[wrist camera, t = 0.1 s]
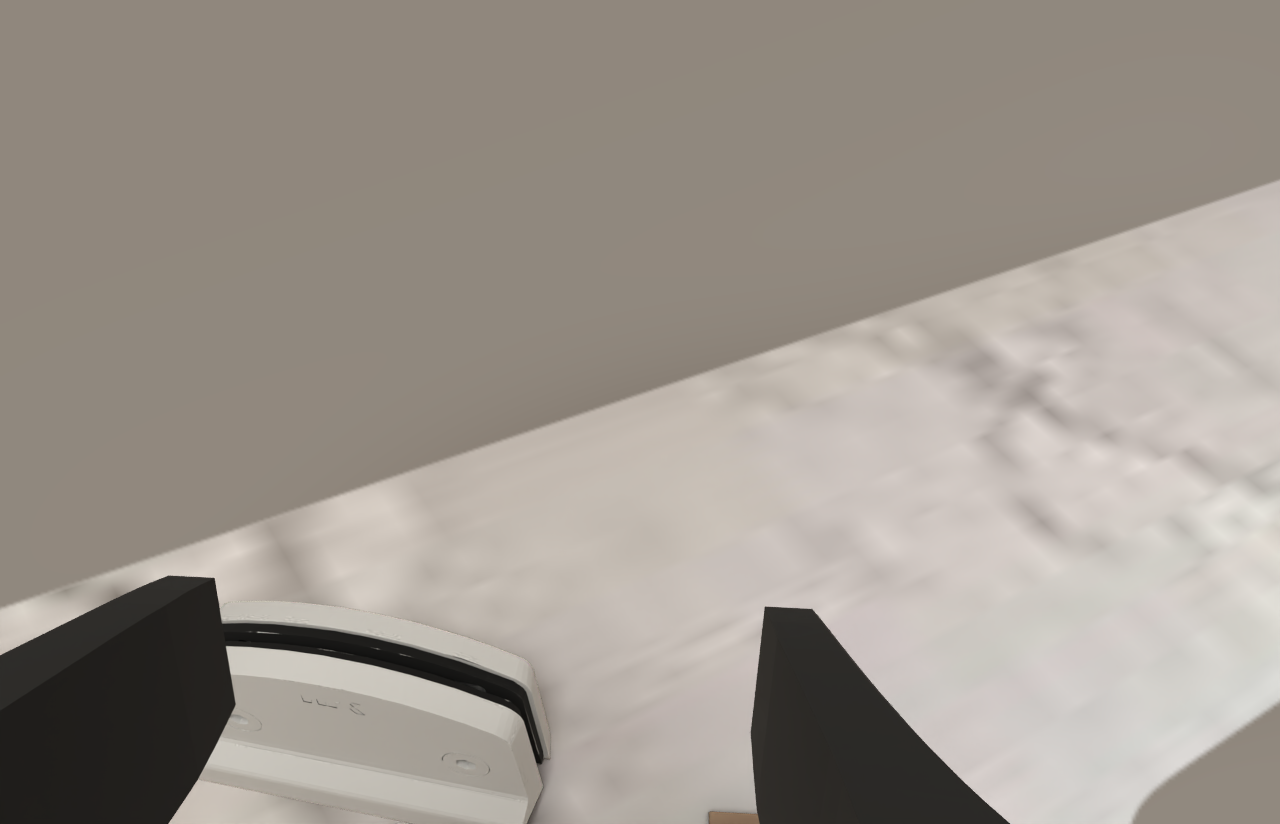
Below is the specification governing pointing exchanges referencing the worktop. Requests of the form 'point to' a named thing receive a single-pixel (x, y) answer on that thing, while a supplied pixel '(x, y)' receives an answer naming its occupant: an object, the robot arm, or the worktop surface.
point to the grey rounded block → (378, 716)
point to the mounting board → (732, 818)
